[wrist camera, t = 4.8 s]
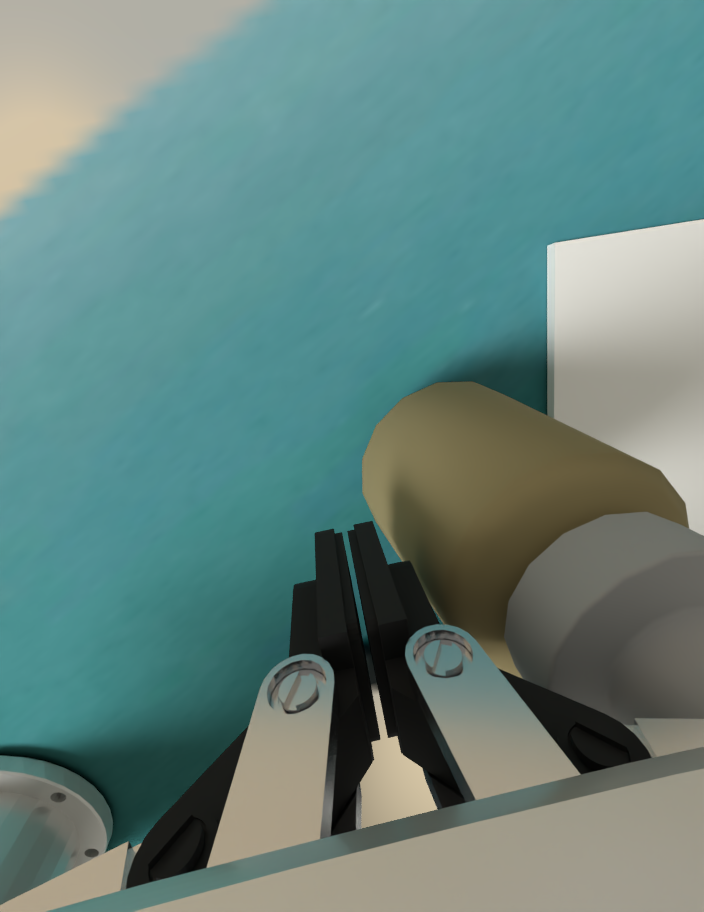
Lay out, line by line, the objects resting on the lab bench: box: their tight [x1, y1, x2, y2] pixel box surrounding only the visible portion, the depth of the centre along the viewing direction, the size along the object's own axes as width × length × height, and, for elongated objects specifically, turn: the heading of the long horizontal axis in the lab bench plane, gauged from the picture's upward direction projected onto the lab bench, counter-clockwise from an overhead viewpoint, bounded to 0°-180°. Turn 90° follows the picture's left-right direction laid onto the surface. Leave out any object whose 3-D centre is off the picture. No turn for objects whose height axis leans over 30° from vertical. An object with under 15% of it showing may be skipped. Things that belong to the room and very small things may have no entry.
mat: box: [547, 219, 704, 536], centre depth 21 cm, size 18×12×1 cm, turn 9°
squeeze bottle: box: [362, 381, 704, 725], centre depth 12 cm, size 8×8×18 cm
